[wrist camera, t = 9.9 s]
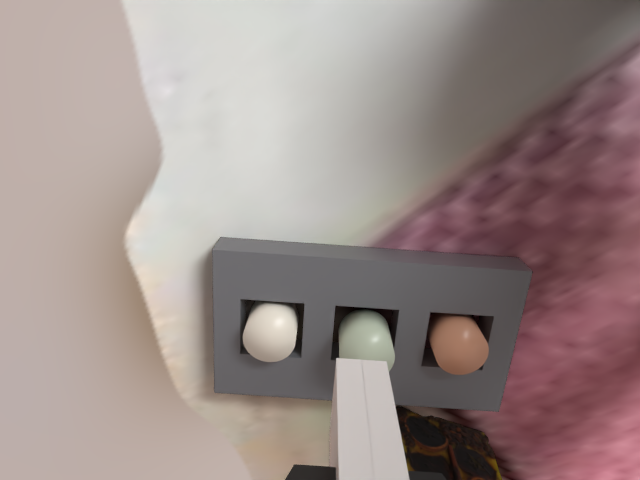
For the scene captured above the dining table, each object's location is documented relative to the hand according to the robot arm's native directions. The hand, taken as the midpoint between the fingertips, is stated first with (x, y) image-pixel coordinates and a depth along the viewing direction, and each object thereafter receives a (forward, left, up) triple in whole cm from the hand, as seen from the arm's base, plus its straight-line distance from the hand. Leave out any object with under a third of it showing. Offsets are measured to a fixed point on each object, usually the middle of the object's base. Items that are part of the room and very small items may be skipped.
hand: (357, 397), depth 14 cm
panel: (+12, +3, -26) cm, 29 cm away
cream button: (+12, -5, -26) cm, 29 cm away
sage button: (+12, +3, -24) cm, 27 cm away
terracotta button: (+12, +11, -26) cm, 31 cm away
